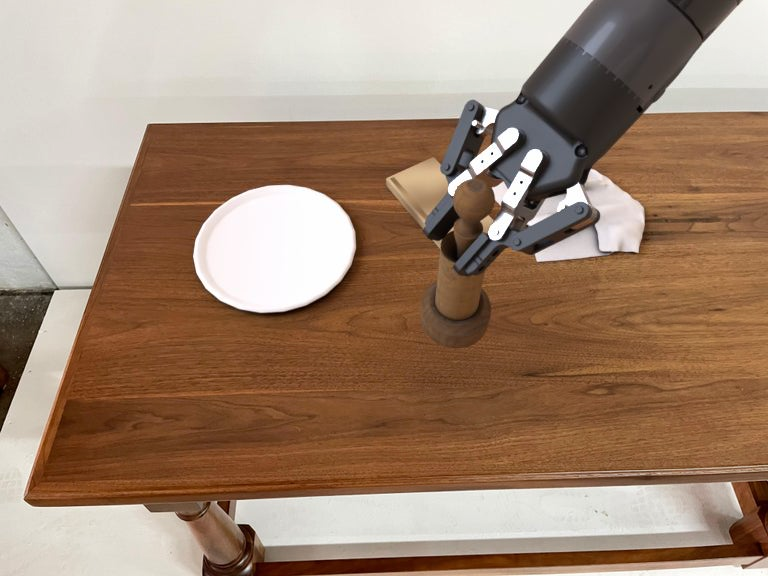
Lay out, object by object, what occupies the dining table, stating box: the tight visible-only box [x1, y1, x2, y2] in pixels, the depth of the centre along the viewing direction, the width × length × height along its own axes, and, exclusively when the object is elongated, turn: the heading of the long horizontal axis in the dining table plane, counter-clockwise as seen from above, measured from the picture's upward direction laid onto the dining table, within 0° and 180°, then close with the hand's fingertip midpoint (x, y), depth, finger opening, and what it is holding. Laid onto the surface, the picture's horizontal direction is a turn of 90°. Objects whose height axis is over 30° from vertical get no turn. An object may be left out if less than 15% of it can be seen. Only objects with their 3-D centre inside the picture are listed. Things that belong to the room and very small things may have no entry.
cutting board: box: [385, 156, 495, 250], centre depth 81 cm, size 16×8×2 cm, turn 32°
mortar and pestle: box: [419, 178, 496, 349], centre depth 50 cm, size 7×6×18 cm
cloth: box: [492, 168, 646, 263], centre depth 81 cm, size 20×22×2 cm
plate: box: [193, 184, 357, 314], centre depth 78 cm, size 21×21×1 cm
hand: (446, 253), depth 47 cm, fingers closed on mortar and pestle, 3 cm apart
